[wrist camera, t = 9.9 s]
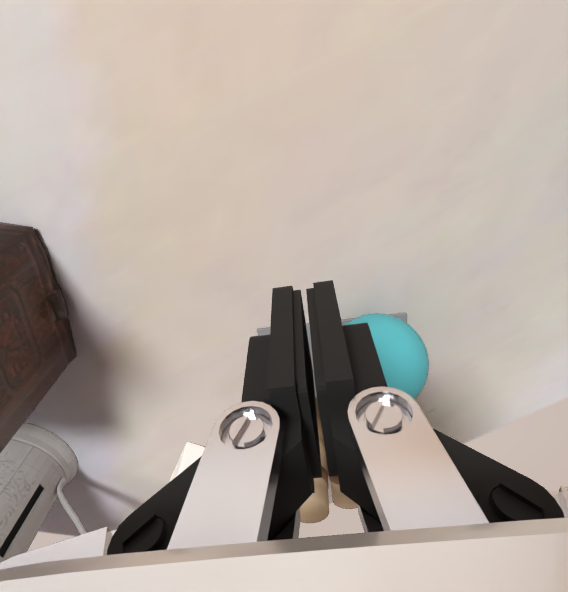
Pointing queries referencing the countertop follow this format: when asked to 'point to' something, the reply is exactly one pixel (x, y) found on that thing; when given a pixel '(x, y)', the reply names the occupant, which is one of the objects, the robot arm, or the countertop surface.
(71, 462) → the glass holder
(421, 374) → the ball
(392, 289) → the countertop surface
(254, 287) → the countertop surface
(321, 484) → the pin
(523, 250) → the countertop surface
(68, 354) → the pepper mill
